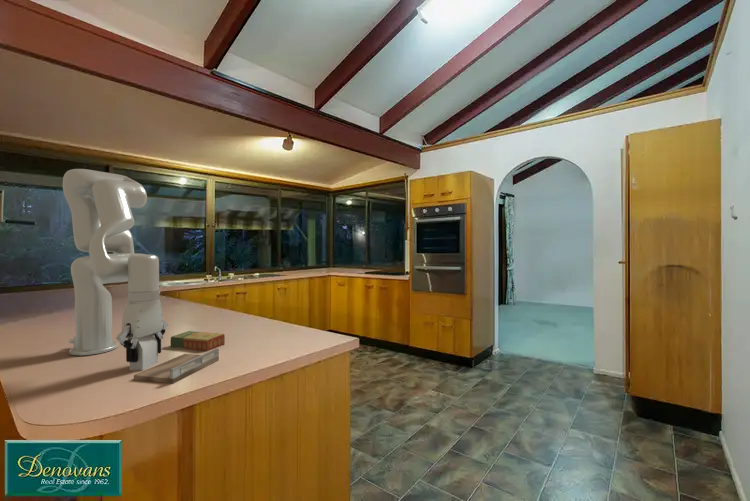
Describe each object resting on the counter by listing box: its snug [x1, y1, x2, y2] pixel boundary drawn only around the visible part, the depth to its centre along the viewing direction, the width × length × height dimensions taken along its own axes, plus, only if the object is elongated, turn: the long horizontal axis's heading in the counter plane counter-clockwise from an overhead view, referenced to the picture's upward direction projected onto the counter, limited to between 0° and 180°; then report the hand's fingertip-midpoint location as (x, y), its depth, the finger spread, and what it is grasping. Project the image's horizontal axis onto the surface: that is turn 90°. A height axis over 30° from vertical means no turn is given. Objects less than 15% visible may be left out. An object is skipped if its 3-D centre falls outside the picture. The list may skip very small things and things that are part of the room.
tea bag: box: [129, 334, 159, 371], centre depth 99 cm, size 4×7×10 cm, turn 0°
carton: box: [170, 330, 226, 352], centre depth 119 cm, size 8×16×4 cm, turn 73°
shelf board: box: [133, 347, 220, 384], centre depth 97 cm, size 12×18×4 cm
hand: (144, 356), depth 99 cm, fingers closed on tea bag, 7 cm apart
